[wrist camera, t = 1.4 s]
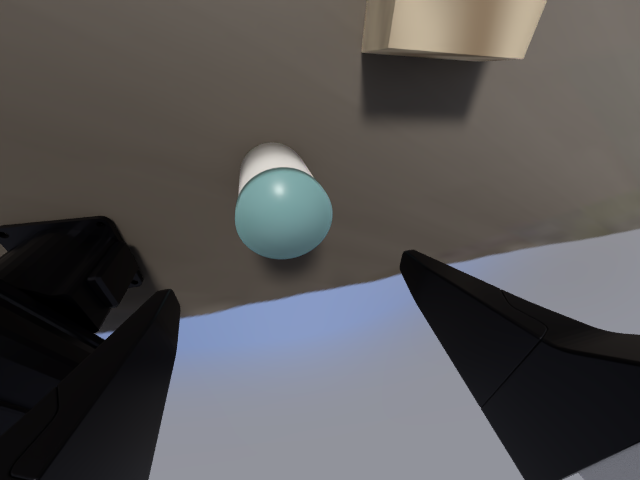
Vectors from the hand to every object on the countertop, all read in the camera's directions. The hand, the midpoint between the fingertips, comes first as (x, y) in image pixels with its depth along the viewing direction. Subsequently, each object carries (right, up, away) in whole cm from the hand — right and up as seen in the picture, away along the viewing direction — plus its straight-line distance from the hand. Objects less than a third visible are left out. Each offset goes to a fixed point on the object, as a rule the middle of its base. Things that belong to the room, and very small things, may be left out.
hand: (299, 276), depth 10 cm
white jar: (-3, +6, +9) cm, 11 cm away
